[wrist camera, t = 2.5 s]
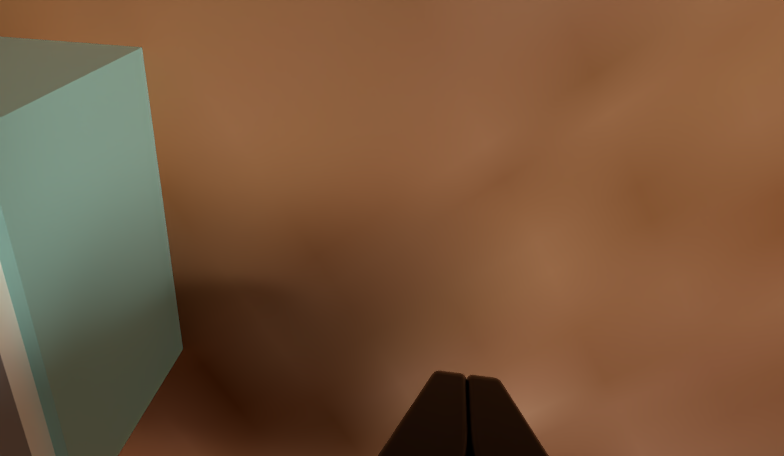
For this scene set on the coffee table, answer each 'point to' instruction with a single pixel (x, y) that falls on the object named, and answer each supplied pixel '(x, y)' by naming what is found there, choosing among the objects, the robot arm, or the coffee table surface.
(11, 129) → the cabinet
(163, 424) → the coffee table surface
